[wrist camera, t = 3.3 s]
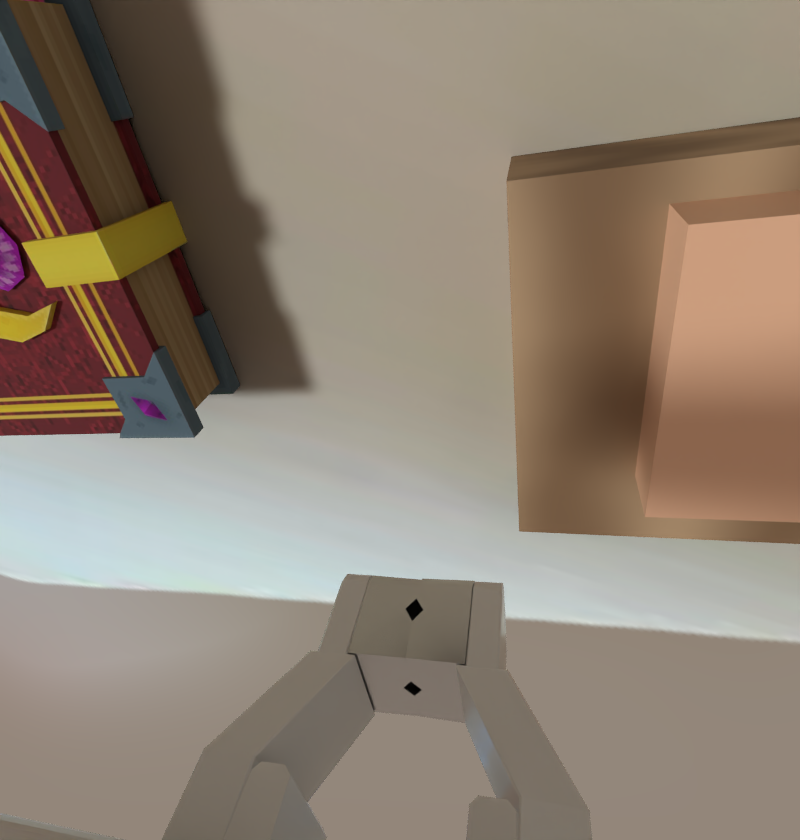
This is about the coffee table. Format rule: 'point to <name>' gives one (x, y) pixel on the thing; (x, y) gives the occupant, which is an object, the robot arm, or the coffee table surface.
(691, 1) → the coffee table surface
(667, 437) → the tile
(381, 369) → the coffee table surface
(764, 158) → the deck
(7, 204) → the decorative book
